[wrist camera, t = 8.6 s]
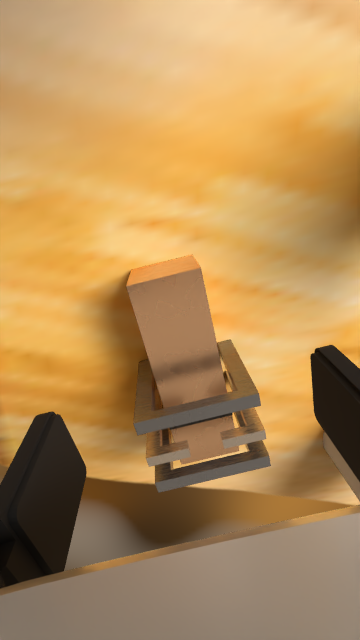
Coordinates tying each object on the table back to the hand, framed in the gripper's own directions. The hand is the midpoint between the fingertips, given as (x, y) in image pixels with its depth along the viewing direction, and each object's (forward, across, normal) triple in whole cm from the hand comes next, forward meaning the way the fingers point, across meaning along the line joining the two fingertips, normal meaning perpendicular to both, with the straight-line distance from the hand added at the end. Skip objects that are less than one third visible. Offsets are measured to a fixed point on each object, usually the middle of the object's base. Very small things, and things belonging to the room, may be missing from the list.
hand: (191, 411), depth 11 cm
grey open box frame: (+15, 0, +10) cm, 18 cm away
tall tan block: (+15, 0, +6) cm, 17 cm away
